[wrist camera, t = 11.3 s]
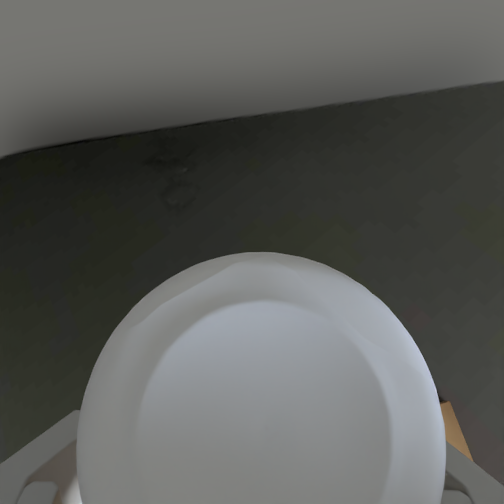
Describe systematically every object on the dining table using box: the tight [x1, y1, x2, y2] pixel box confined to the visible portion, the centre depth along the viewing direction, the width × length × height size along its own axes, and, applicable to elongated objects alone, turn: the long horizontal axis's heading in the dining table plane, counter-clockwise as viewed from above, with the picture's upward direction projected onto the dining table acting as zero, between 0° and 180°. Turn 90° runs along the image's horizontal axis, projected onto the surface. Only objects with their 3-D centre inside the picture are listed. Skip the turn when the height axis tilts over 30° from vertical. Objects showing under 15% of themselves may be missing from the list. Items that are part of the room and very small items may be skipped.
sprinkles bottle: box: [76, 252, 446, 504], centre depth 11 cm, size 5×5×13 cm
